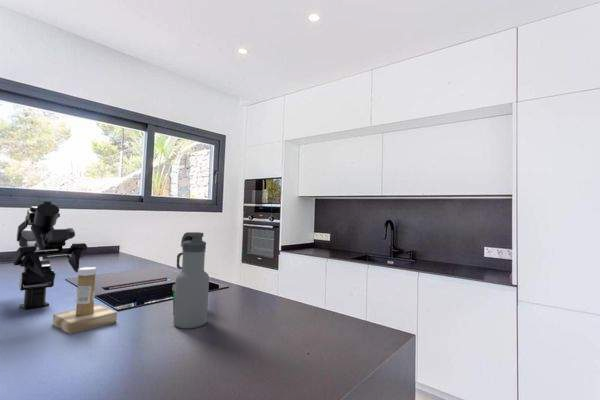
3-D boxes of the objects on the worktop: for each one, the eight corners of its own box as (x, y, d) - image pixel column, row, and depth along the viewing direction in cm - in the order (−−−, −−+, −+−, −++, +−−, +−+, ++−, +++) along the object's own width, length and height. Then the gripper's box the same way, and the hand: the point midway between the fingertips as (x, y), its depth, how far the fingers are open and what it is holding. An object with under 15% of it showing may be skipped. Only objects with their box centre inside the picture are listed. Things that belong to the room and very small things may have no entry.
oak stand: (52, 324, 91) (53, 314, 91) (97, 314, 101) (98, 304, 101) (70, 334, 84) (71, 323, 84) (116, 322, 94) (116, 312, 94)
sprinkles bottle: (97, 311, 94) (100, 267, 95) (86, 316, 90) (89, 269, 90) (82, 310, 95) (85, 266, 95) (71, 315, 90) (74, 269, 91)
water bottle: (167, 322, 95) (171, 231, 96) (196, 315, 102) (200, 231, 103) (182, 332, 88) (187, 233, 89) (213, 324, 95) (217, 233, 96)
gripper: (20, 220, 92) (36, 261, 86) (86, 219, 108) (103, 254, 103) (5, 244, 95) (20, 285, 89) (72, 240, 112) (88, 275, 106)
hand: (61, 273), depth 97 cm, fingers open, 9 cm apart
